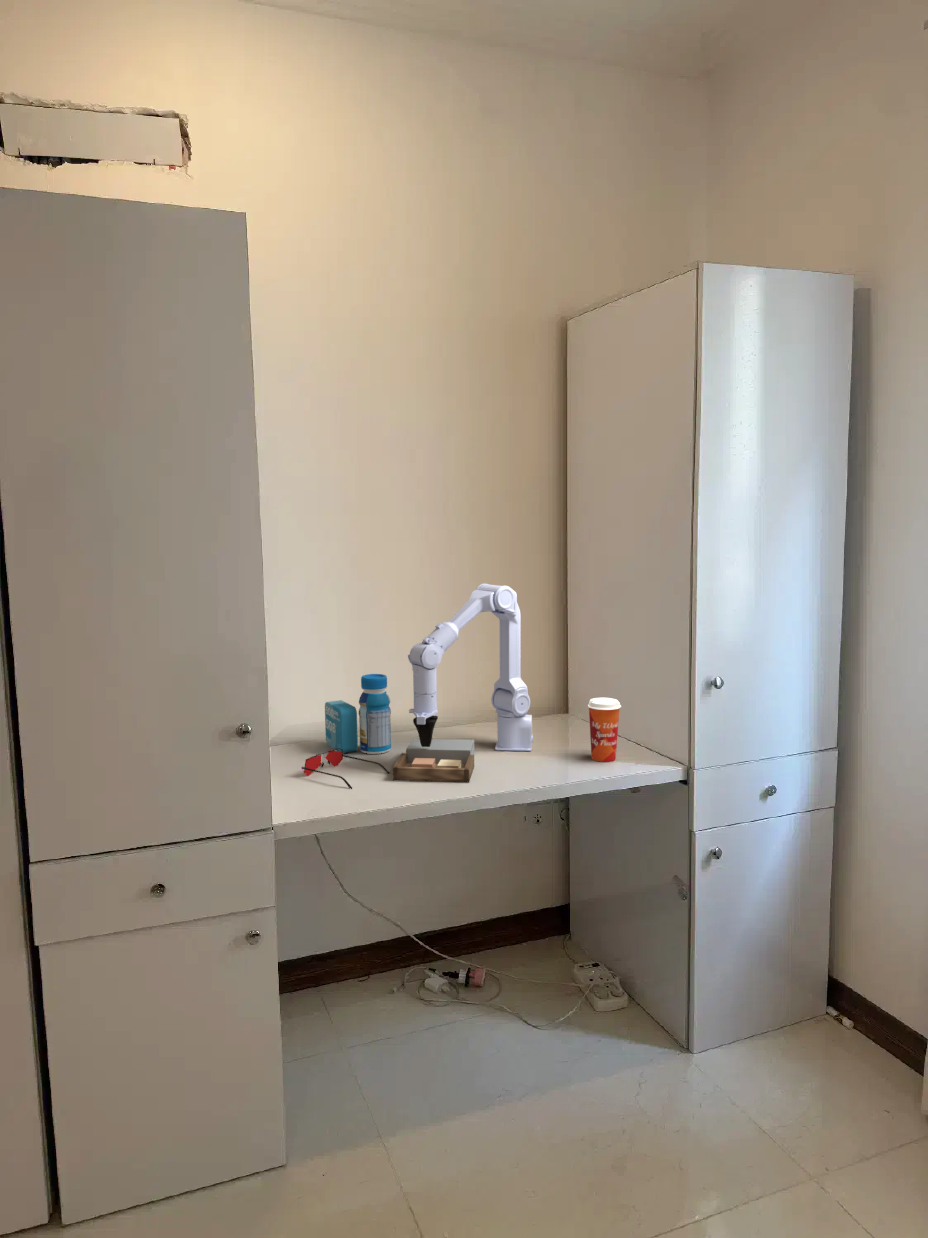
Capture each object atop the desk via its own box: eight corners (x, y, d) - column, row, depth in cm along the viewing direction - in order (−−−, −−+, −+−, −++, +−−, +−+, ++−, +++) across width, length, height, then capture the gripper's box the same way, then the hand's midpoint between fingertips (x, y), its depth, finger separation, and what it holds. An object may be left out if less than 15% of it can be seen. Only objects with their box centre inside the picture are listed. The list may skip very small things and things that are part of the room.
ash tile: (458, 766, 208) (458, 774, 208) (461, 760, 213) (461, 768, 213) (437, 765, 208) (437, 773, 209) (440, 759, 213) (440, 767, 214)
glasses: (341, 764, 221) (340, 745, 220) (391, 775, 211) (391, 755, 211) (300, 778, 209) (300, 758, 209) (351, 791, 200) (351, 769, 199)
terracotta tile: (432, 764, 209) (432, 772, 210) (435, 758, 214) (435, 766, 215) (411, 764, 210) (411, 772, 210) (415, 758, 215) (415, 766, 215)
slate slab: (474, 754, 226) (474, 739, 226) (470, 766, 216) (470, 750, 216) (413, 753, 228) (412, 738, 228) (406, 764, 218) (406, 749, 218)
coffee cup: (589, 763, 218) (589, 704, 216) (585, 754, 226) (585, 697, 224) (623, 763, 217) (623, 704, 216) (618, 754, 226) (618, 697, 224)
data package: (325, 744, 238) (324, 701, 237) (341, 741, 240) (340, 699, 239) (342, 754, 228) (340, 709, 226) (358, 752, 230) (357, 707, 228)
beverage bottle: (380, 756, 226) (379, 680, 223) (353, 752, 229) (351, 677, 227) (397, 748, 233) (396, 674, 231) (370, 744, 237) (369, 671, 234)
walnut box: (474, 766, 216) (474, 754, 216) (469, 782, 204) (469, 769, 203) (402, 765, 218) (402, 753, 218) (392, 780, 206) (392, 768, 205)
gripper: (414, 686, 223) (414, 738, 225) (403, 698, 209) (404, 753, 210) (441, 686, 222) (442, 738, 224) (433, 698, 208) (433, 754, 210)
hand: (425, 746), depth 217 cm, fingers closed
